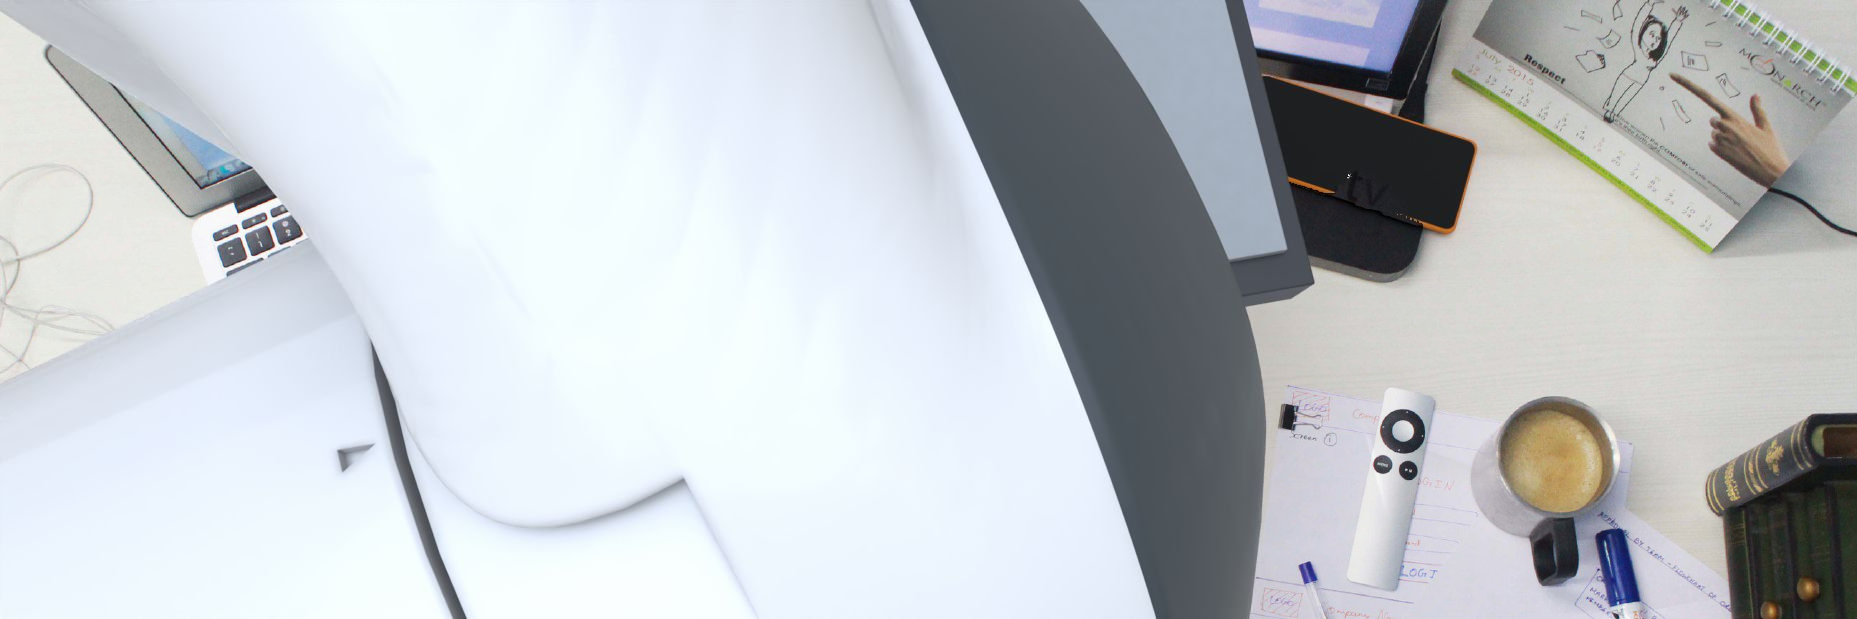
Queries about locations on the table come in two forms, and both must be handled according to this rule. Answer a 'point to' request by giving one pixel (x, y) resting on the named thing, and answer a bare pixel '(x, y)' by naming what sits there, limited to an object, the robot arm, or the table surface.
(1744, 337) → the table surface
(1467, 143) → the smartphone
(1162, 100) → the scale
